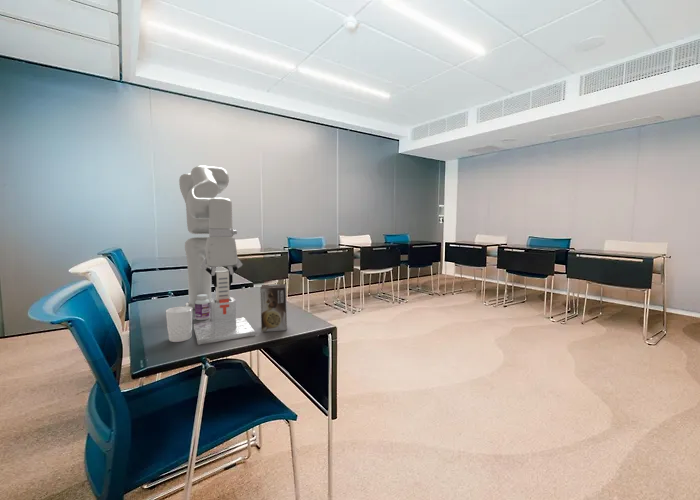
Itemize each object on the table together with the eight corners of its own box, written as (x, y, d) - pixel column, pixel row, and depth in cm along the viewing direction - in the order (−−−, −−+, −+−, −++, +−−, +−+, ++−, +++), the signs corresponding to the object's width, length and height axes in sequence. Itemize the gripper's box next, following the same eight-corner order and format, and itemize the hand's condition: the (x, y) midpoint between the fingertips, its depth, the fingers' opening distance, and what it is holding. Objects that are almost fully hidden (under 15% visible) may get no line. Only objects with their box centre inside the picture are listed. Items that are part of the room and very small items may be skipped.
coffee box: (287, 325, 122) (286, 283, 121) (286, 330, 116) (286, 287, 115) (262, 326, 121) (261, 284, 119) (260, 332, 115) (260, 287, 113)
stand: (193, 328, 118) (192, 294, 117) (244, 321, 127) (243, 290, 125) (197, 344, 102) (196, 306, 101) (254, 335, 111) (254, 300, 110)
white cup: (165, 344, 102) (164, 313, 101) (168, 336, 109) (167, 307, 108) (192, 340, 105) (191, 311, 104) (194, 333, 113) (193, 305, 112)
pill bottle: (204, 321, 126) (203, 297, 125) (192, 320, 127) (191, 296, 126) (212, 317, 131) (212, 294, 130) (201, 316, 132) (200, 293, 131)
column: (215, 320, 115) (214, 271, 113) (228, 319, 117) (227, 270, 115) (217, 324, 111) (215, 273, 109) (230, 322, 113) (229, 272, 111)
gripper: (243, 233, 119) (244, 281, 120) (193, 233, 110) (195, 285, 112) (248, 234, 112) (248, 285, 114) (195, 234, 104) (196, 290, 105)
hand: (222, 285), depth 113 cm, fingers closed on column, 4 cm apart
